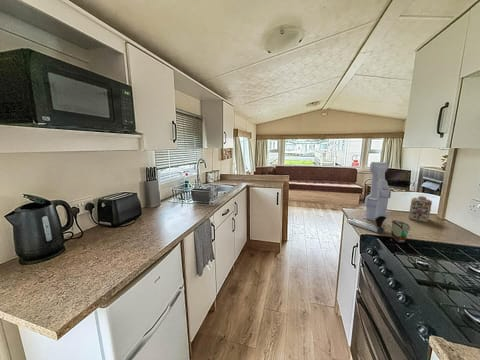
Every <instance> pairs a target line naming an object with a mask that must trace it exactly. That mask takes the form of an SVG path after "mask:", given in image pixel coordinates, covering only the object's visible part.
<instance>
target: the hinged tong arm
mask: <svg viewBox="0 0 480 360" xmlns="http://www.w3.org/2000/svg"><path fill="white" fill-rule="evenodd" d="M349 219H351V220H354V221H357V222H360V223H363V224H366V225H369V226H372V227H375V228H378V229H382V234H383V233H385V228H384V227H382V226H381V227H378V226H377V225H374V224H371V223H367V222H365V221H361V220H357V219H354V218H352V217H350V218H349Z"/></svg>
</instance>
